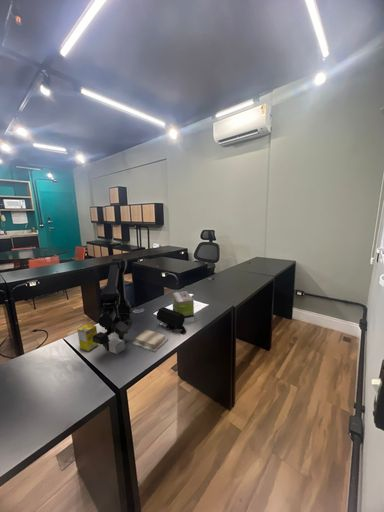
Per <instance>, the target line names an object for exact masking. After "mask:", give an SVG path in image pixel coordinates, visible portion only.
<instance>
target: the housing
mask: <svg viewBox="0 0 384 512" xmlns="http://www.w3.org/2000/svg"><path fill="white" fill-rule="evenodd" d="M109 340H110V341H109V351H108V352H110V353H113V354H115V355H118V354H119V353H120V352H123V351H124V350H125V349H126V344H125V342H126V341H125V340H124V339H123V340H120V339H119V337H114V336H111V337H109ZM104 350H106V349H105V348H104ZM106 351H107V350H106Z"/></svg>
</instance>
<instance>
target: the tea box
mask: <svg viewBox="0 0 384 512" xmlns="http://www.w3.org/2000/svg"><path fill="white" fill-rule="evenodd" d="M171 294H172V295H171V296H172V297H171V298H172V299H171V301H172V310H173V311H176V312H179V313H182V314H183V315H184V321H185V322H184V324H183V325H186V324H192V323H195V315H194V314H195V311H194V310H195V309H194V307H195V306H194V305H195V303H194V298H193V297H192V296H191V295H190V293H189V292H188V291H187V290H184V291H177V292H172V293H171Z"/></svg>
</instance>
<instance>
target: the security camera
mask: <svg viewBox="0 0 384 512" xmlns="http://www.w3.org/2000/svg"><path fill="white" fill-rule="evenodd" d="M156 320H157V321H159V322H162V323H165V324H167V326H166V328H167V329H170V330H172V331H174V330H175V329H177V330H179V333H178V334H181V335H184V334H185V333H186V332H187V329H186V328H185V326H184V325H185V324H184V322H185V321H184V315H183V314H182V313H179V312H176V311H173V309H170V308H167V307H164V306H162V307H160V308H158V310H157V312H156Z"/></svg>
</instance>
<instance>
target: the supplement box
mask: <svg viewBox="0 0 384 512" xmlns="http://www.w3.org/2000/svg"><path fill="white" fill-rule="evenodd" d="M97 333H98V329H97V325H94V324H92V323H86V324H84V325H83V326H80V327H79V328H77V337H78V344H79V350H81V351H83V352H87V353H90V352H91V351H93V350H94V349H96V348H97V347H99V344H98V343H95V342H93V336H94V335H95V334H97Z"/></svg>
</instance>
